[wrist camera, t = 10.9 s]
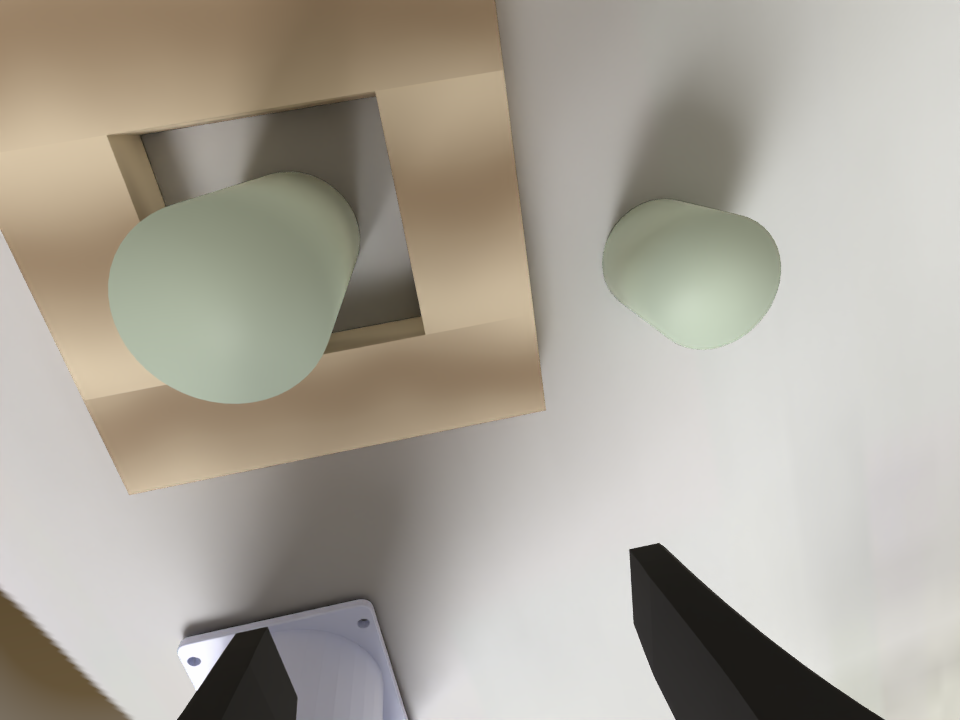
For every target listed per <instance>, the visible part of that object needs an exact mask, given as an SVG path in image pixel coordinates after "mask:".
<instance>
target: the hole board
mask: <svg viewBox="0 0 960 720" xmlns="http://www.w3.org/2000/svg"><path fill="white" fill-rule="evenodd" d="M374 96H376V98H377V103H378V107H379V112H380V117H381V122H382V127H383V132H384V136H385V141H386V146H387V151H388V156H389V161H390V166H391V170H392V175H393V180H394V185H395V190H396V195H397V199H398V204H399V209H400V214H401V219H402V224H403V228H404V233H405V238H406V243H407V248H408V253H409V257H410V262H411V267H412V272H413V277H414V282H415V287H416V291H417V296H418V301H419V306H420V311H421V316H420V317H415V318H410V319H405V320H399V321H394V322H389V323H384V324H378V325H373V326H368V327H362V328H357V329H352V330H347V331H341V332H336V333H331V336H330V339H329V342H328V345H327V347H326V349H325V351H324V353H323V356H322V357H321V359H320V360H319V362H318V363H317V365H316V366H315V368H314V369H313V370H312V371H311V372H310V373H309V375H308V376H306V377H305V378H304V379H303V380H302V381H301V382H300V383H298V384H297V385H295V386H294V387H292V388H291V389H289V390H288V391H286V392H284V393H282V394H279V395H277V396H275V397H272V398H269V399H266V400H262V401H257V402H252V403H242V404H224V403H217V402H210V401H206V400H202V399H198V398H195V397H192V396H189V395H187V394H184V393H182V392H180V391H178V390H176V389H174V388H172V387H170V386H168V385H167V384H165V383H163V382H162V381H160V380H159V379H157V378H156V377H155V376H154V375H152V374H151V373H150V372H149V371H147V370H146V369H145V368H144V367H143V366H142V365H141V364H140V363H139V362H138V361H137V360H136V358H135V357H134V356H133V355H132V353H131V352H130V351H129V350H128V348H127V347H126V345H125V343H124V342H123V340H122V339H121V337H120V335H119V333H118V330H117V328H116V326H115V324H114V321H113V317H112V314H111V311H110V305H109V298H108V281H109V274H110V268H111V265H112V262H113V259H114V256H115V254H116V252H117V250H118V248H119V246H120V244H121V243H122V241H123V240H124V238H125V237H126V236H127V234H128V233H129V232H130V231H131V230H132V229H133V228H134V227H135V226H136V225H137V224H138V223H139V222H141V221H142V220H143V219H145V218H146V217H147V216H149V215H150V214H152V213H154V212H156V211H158V210H160V209H162V208H164V207H166V206H165V203H164V201H163V198H162V195H161V193H160V190H159V187H158V184H157V182H156V179H155V176H154V173H153V171H152V168H151V165H150V162H149V160H148V157H147V154H146V151H145V149H144V146H143V143H142V140H141V138H140V135H143V134H149V133H155V132H161V131H167V130H173V129H179V128H185V127H191V126H197V125H204V124H210V123H216V122H222V121H228V120H234V119H240V118H246V117H252V116H258V115H264V114H270V113H277V112H283V111H289V110H295V109H301V108H307V107H313V106H319V105H325V104H331V103H337V102H343V101H350V100H356V99H362V98H368V97H374ZM0 229H1V232H2V234H3V236H4V238H5V240H6V242H7V244H8V246H9V248H10V250H11V252H12V254H13V256H14V258H15V260H16V262H17V265H18V267H19V269H20V271H21V273H22V275H23V277H24V279H25V281H26V283H27V285H28V287H29V289H30V291H31V293H32V295H33V298H34V300H35V302H36V304H37V306H38V308H39V310H40V312H41V314H42V316H43V318H44V320H45V322H46V324H47V326H48V328H49V330H50V333H51V335H52V337H53V339H54V341H55V343H56V345H57V347H58V349H59V351H60V353H61V355H62V357H63V359H64V361H65V363H66V366H67V368H68V370H69V372H70V374H71V376H72V378H73V380H74V382H75V384H76V386H77V388H78V390H79V392H80V394H81V396H82V399H83V401H84V403H85V405H86V407H87V409H88V411H89V413H90V415H91V417H92V419H93V421H94V423H95V425H96V427H97V429H98V432H99V434H100V436H101V438H102V440H103V442H104V444H105V446H106V448H107V450H108V452H109V454H110V456H111V458H112V460H113V462H114V465H115V467H116V469H117V471H118V473H119V475H120V477H121V479H122V481H123V483H124V485H125V487H126V489H127V491H128V493H129V495H132V494H137V493H142V492H147V491H152V490H156V489H161V488H166V487H171V486H176V485H181V484H186V483H191V482H196V481H201V480H206V479H211V478H215V477H220V476H225V475H230V474H235V473H240V472H245V471H250V470H255V469H260V468H265V467H269V466H274V465H279V464H284V463H289V462H294V461H299V460H304V459H309V458H314V457H319V456H324V455H328V454H333V453H338V452H343V451H348V450H353V449H358V448H363V447H368V446H373V445H378V444H382V443H387V442H392V441H397V440H402V439H407V438H412V437H417V436H422V435H427V434H432V433H437V432H441V431H446V430H451V429H456V428H461V427H466V426H471V425H476V424H481V423H486V422H491V421H495V420H500V419H505V418H510V417H515V416H520V415H525V414H530V413H535V412H540V411H545V410H546V408H545V400H544V391H543V383H542V375H541V367H540V359H539V351H538V343H537V335H536V327H535V319H534V311H533V303H532V295H531V287H530V279H529V270H528V262H527V254H526V246H525V238H524V230H523V222H522V214H521V206H520V198H519V190H518V182H517V174H516V166H515V158H514V149H513V141H512V133H511V125H510V117H509V109H508V101H507V93H506V85H505V77H504V69H503V61H502V53H501V45H500V36H499V28H498V20H497V12H496V4H495V0H0Z"/></svg>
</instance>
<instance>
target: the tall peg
mask: <svg viewBox="0 0 960 720" xmlns="http://www.w3.org/2000/svg"><path fill="white" fill-rule="evenodd" d="M359 247H360V234H359V228H358V224H357V220H356V218H355V215H354V213H353V211H352V209H351V207H350V206H349V204H348V203H347V201H346V200H345V199H344V197H343V196H342V195H341V194H340V193H339V192H338V191H337V190H336V189H334V188H333V187H332V186H331V185H329V184H328V183H326V182H325V181H323V180H321V179H319V178H317V177H314V176H311V175H309V174H305V173H300V172H278V173H273V174H270V175H266V176H263V177H260V178H257V179H253V180H250V181H247V182H244V183H241V184H237V185H234V186H231V187H228V188H224V189H221V190H218V191H215V192H212V193H208V194H205V195H202V196H199V197H195V198H192V199H189V200H186V201H183V202H179V203H176V204H173V205H170V206H167V207H164V208H162V209H160V210H158V211H156V212H154V213H152V214H150V215H149V216H147V217H146V218H145V219H143V220H142V221H141V222H139V223H138V224H137V225H136V226H135V227H134V228H133V229H132V230H131V231H130V232H129V233H128V234H127V236H126V237H125V238H124V240H123V241H122V243H121V244H120V246H119V248H118V250H117V252H116V254H115V256H114V259H113V262H112V265H111V268H110V274H109V281H108V298H109V305H110V311H111V314H112V317H113V321H114V324H115V326H116V328H117V330H118V333H119V335H120V337H121V339H122V340H123V342H124V343H125V345H126V347H127V348H128V350H129V351H130V352H131V353H132V355H133V356H134V357H135V358H136V360H137V361H138V362H139V363H140V364H141V365H142V366H143V367H144V368H145V369H146V370H147V371H149V372H150V373H151V374H152V375H154V376H155V377H156V378H157V379H159V380H160V381H162V382H163V383H165V384H167V385H168V386H170V387H172V388H174V389H176V390H178V391H180V392H182V393H184V394H187V395H189V396H192V397H195V398H198V399H202V400H206V401H210V402H217V403H224V404H242V403H252V402H257V401H262V400H266V399H269V398H272V397H275V396H277V395H279V394H282V393H284V392H286V391H288V390H289V389H291V388H292V387H294V386H295V385H297V384H298V383H300V382H301V381H302V380H303V379H304V378H305V377H306V376H308V375H309V373H310V372H311V371H312V370H313V369H314V368H315V366H316V365H317V363H318V362H319V360H320V359H321V357H322V356H323V353H324V351H325V349H326V347H327V345H328V342H329V339H330V336H331V333H332V330H333V327H334V324H335V321H336V319H337V316H338V313H339V310H340V307H341V304H342V301H343V298H344V295H345V293H346V290H347V287H348V284H349V281H350V278H351V275H352V272H353V269H354V266H355V264H356V261H357V257H358V254H359Z"/></svg>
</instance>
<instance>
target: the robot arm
mask: <svg viewBox="0 0 960 720" xmlns="http://www.w3.org/2000/svg"><path fill="white" fill-rule="evenodd" d="M629 551H630V568H631V585H632V602H633V620H634V625H635V628H636V631H637V633H638V636H639V639H640V641H641V644H642V647H643V649H644V652H645V655H646V657H647V660H648V662H649V665H650V667H651V670H652V673H653V675H654V677H655V679H656V681H657V683H658V685H659V687H660V689H661V691H662V693H663V695H664V697H665V699H666V701H667V703H668V705H669V707H670V709H671V711H672V713H673V715H674V717H675V719H676V720H884V719H883V718H881V717H880V716H878V715H876V714H875V713H873V712H872V711H870V710H869V709H867V708H865V707H864V706H862V705H861V704H859V703H858V702H856V701H855V700H853V699H852V698H850V697H849V696H848V695H846V694H845V693H843V692H842V691H840V690H839V689H837V688H836V687H834V686H833V685H831V684H830V683H828V682H827V681H826V680H824V679H823V678H821V677H820V676H819V675H817V674H816V673H814V672H813V671H812V670H810V669H809V668H807V667H806V666H805V665H803V664H802V663H801V662H799V661H798V660H797V659H795V658H794V657H793V656H791V655H790V654H789V653H787V652H786V651H785V650H783V649H782V648H781V647H780V646H778V645H777V644H776V643H774V642H773V641H772V640H771V639H769V638H768V637H767V636H765V635H764V634H763V633H762V632H760V631H759V630H758V629H757V628H755V627H754V626H753V625H752V624H751V623H749V622H748V621H747V620H746V619H745V618H743V617H742V616H741V615H740V614H739V613H737V612H736V611H735V610H734V609H733V608H731V607H730V606H729V605H728V604H727V603H725V602H724V601H723V600H722V599H721V598H720V597H719V596H717V595H716V594H715V593H714V592H713V591H712V590H711V589H709V588H708V587H707V586H706V585H705V584H704V583H703V582H702V581H701V580H699V579H698V578H697V577H696V576H695V575H694V574H693V573H692V572H691V571H690V570H688V569H687V568H686V567H685V566H684V565H683V564H682V563H681V562H680V561H679V560H678V559H677V558H676V557H675V556H674V555H672V554H671V553H670V552H669V551H668V550H667V549H666V548H665V547H664V546H663V545H661V544H660V543H657V544H653V545H648V546H643V547H639V548H634V549H629ZM361 619H367V620H366V621H361ZM177 654H178V656H179V658H180V660H181V662H182V664H183V666H184V668H185V670H186V672H187V674H188V676H189V678H190V679H191V681H192V683H193V685H194V687H195V689H196V693H195V694H194V696H193V697H192V699H191V700H190V702H189V703H188V705H187V706H186V708H185V709H184V711H183V712H182V714H181V715H180V716H179V718H178V719H177V720H408V718H407V715H406V711H405V708H404V705H403V702H402V698H401V695H400V692H399V689H398V686H397V682H396V679H395V676H394V673H393V669H392V666H391V663H390V660H389V656H388V653H387V650H386V647H385V643H384V640H383V637H382V634H381V630H380V627H379V624H378V621H377V617H376V614H375V611H374V608H373V605H372V603H371V602H369V601H368V600H364V599H359V600H354V601H349V602H345V603H340V604H336V605H331V606H327V607H322V608H318V609H313V610H309V611H304V612H299V613H295V614H290V615H286V616H281V617H277V618H272V619H268V620H263V621H259V622H254V623H250V624H245V625H240V626H236V627H231V628H227V629H222V630H218V631H213V632H209V633H204V634H200V635H195V636H191V637H187V638H184V639H183V640H182V641H181V642H180V645H179V647H178V650H177ZM195 657H197V658H195Z"/></svg>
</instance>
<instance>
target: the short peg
mask: <svg viewBox="0 0 960 720" xmlns="http://www.w3.org/2000/svg"><path fill="white" fill-rule="evenodd" d="M602 268H603V275H604V278H605V282H606V284H607V286H608V288H609V290H610V292H611V293H612V294H613V296H614V297H615V298H616V299H617V300H618V301H620V302H621V303H622V304H623V305H625V306H626V307H627V308H629V309H630V310H631V311H633V312H634V313H635V314H637V315H638V316H639V317H640V318H642V319H643V320H644V321H646V322H647V323H648V324H650V325H651V326H652V327H654V328H655V329H656V330H658V331H659V332H660V333H662V334H663V335H664V336H666V337H667V338H668V339H670V340H671V341H673V342H674V343H676V344H678V345H680V346H683V347H686V348H690V349H697V350H707V349H715V348H718V347H722V346H725V345H728V344H730V343H732V342H734V341H736V340H738V339H740V338H741V337H743V336H744V335H746V334H747V333H748V332H749V331H751V330H752V329H753V328H754V327H755V326H756V325H757V324H758V323H759V322H760V321H761V319H762V318H763V317H764V316H765V314H766V313H767V311H768V310H769V308H770V307H771V304H772V302H773V300H774V298H775V296H776V293H777V290H778V286H779V282H780V275H781V262H780V255H779V252H778V248H777V246H776V243H775V241H774V239H773V238H772V236H771V235H770V233H769V232H768V231H767V230H766V229H765V228H764V227H763V226H762V225H760V224H759V223H758V222H756V221H754V220H752V219H750V218H748V217H745V216H742V215H737V214H733V213H729V212H725V211H720V210H716V209H712V208H708V207H703V206H699V205H695V204H690V203H686V202H682V201H678V200H672V199H657V200H652V201H648V202H645V203H643V204H640V205H639V206H637V207H635V208H633V209H632V210H630V211H629V212H628V213H627V214H625V215H624V216H623V217H622V218H621V219H620V220H619V222H618V223H617V224H616V225H615V227H614V228H613V230H612V231H611V233H610V235H609V237H608V239H607V242H606V244H605V248H604V252H603V260H602Z"/></svg>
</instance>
